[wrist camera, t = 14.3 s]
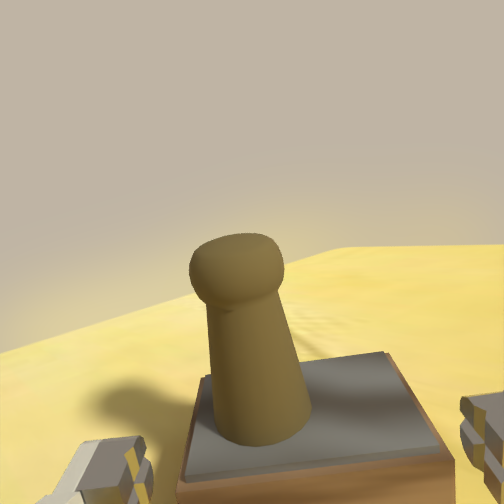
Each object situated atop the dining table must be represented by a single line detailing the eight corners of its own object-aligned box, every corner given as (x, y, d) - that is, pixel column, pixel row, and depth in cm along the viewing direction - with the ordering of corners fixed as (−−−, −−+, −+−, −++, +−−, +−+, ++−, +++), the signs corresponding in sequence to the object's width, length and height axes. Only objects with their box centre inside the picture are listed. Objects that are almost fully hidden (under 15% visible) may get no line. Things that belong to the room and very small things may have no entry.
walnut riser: (455, 521, 20) (454, 451, 19) (190, 551, 21) (173, 485, 20) (391, 399, 30) (388, 346, 29) (210, 422, 31) (199, 371, 30)
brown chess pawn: (240, 465, 20) (198, 265, 17) (200, 405, 26) (162, 244, 23) (332, 414, 23) (309, 231, 20) (278, 369, 28) (254, 219, 25)
